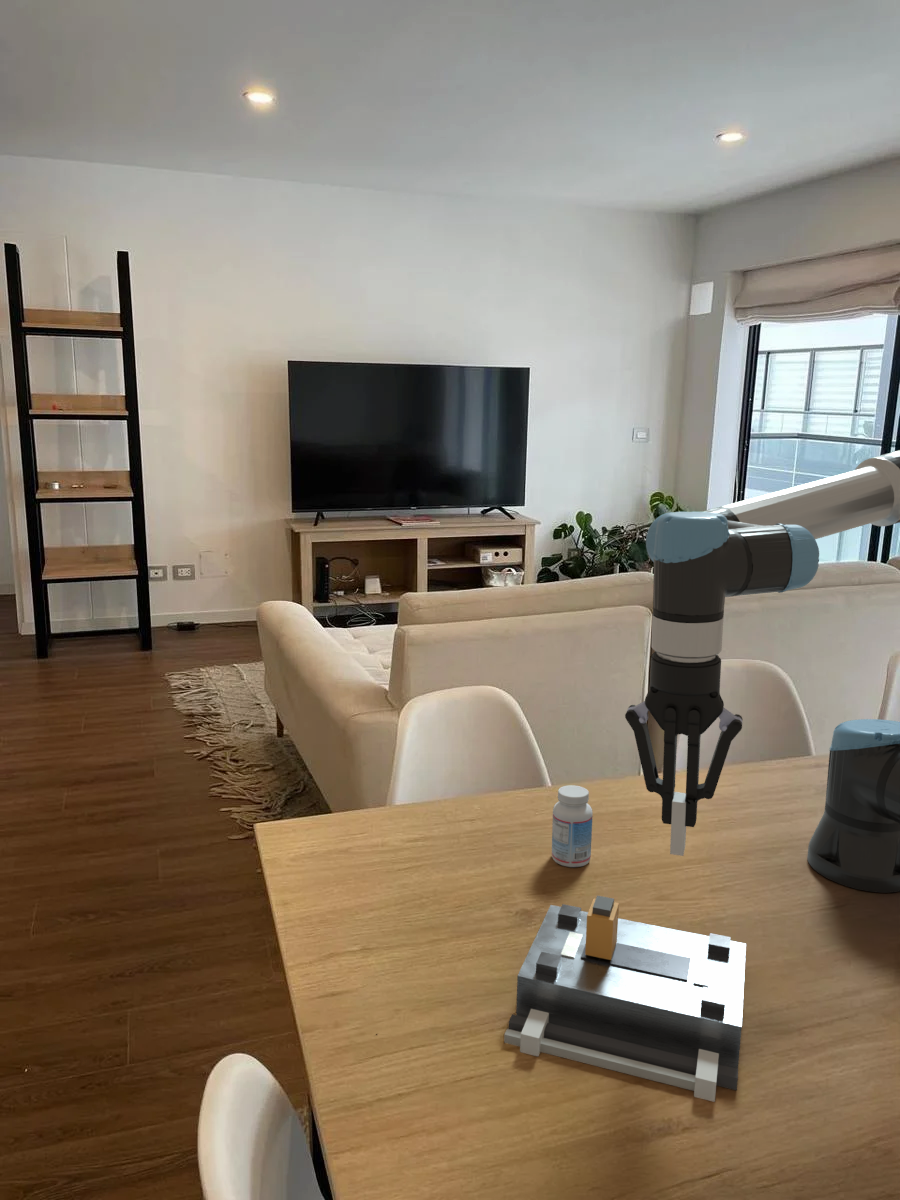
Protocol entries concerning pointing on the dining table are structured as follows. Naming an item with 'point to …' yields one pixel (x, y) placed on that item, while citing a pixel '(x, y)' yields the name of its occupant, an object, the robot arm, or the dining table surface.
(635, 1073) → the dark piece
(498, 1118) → the dining table surface
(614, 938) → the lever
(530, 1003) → the panel
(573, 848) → the pill bottle
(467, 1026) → the dining table surface
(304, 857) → the dining table surface
